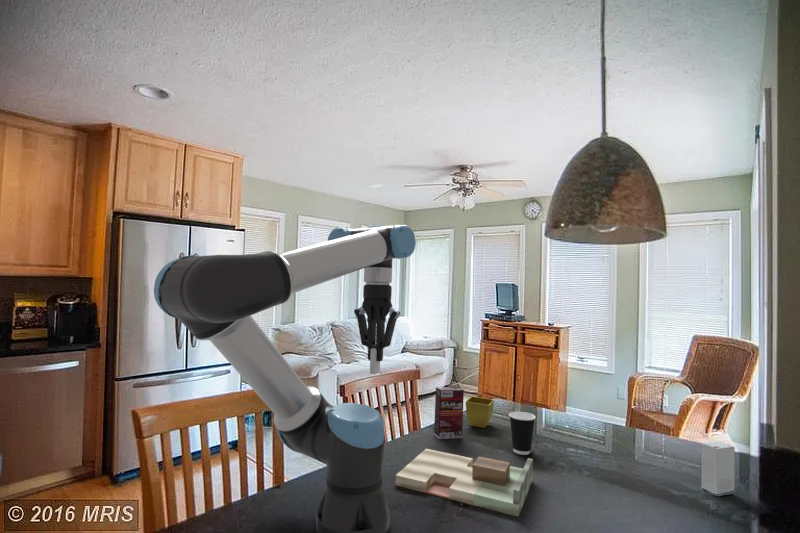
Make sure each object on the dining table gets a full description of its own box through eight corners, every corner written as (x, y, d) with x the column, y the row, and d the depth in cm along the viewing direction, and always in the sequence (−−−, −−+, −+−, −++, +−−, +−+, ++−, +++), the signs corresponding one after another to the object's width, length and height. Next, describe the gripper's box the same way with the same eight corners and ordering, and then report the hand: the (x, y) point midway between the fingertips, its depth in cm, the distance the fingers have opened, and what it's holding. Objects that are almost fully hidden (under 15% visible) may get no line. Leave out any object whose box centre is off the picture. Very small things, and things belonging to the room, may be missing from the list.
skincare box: (717, 487, 111) (717, 440, 112) (736, 495, 107) (735, 446, 107) (700, 490, 109) (700, 441, 110) (717, 498, 105) (717, 448, 106)
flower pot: (494, 424, 158) (494, 399, 158) (488, 431, 150) (489, 404, 150) (470, 420, 161) (471, 396, 162) (464, 426, 153) (465, 401, 154)
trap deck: (518, 516, 94) (518, 491, 94) (395, 485, 107) (396, 462, 107) (532, 480, 112) (532, 459, 112) (425, 457, 125) (426, 438, 125)
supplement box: (438, 440, 139) (439, 390, 140) (433, 434, 144) (434, 387, 145) (463, 438, 142) (464, 389, 142) (457, 433, 146) (458, 386, 147)
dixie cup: (503, 448, 134) (503, 412, 134) (524, 445, 137) (525, 410, 137) (518, 458, 126) (518, 420, 127) (540, 455, 129) (541, 418, 130)
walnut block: (504, 486, 102) (505, 471, 103) (472, 479, 106) (472, 464, 106) (509, 476, 108) (510, 462, 108) (478, 470, 111) (478, 456, 111)
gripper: (405, 284, 115) (403, 373, 114) (363, 283, 120) (360, 368, 119) (393, 284, 108) (390, 378, 107) (349, 283, 114) (346, 372, 113)
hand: (374, 373), depth 113 cm, fingers closed
